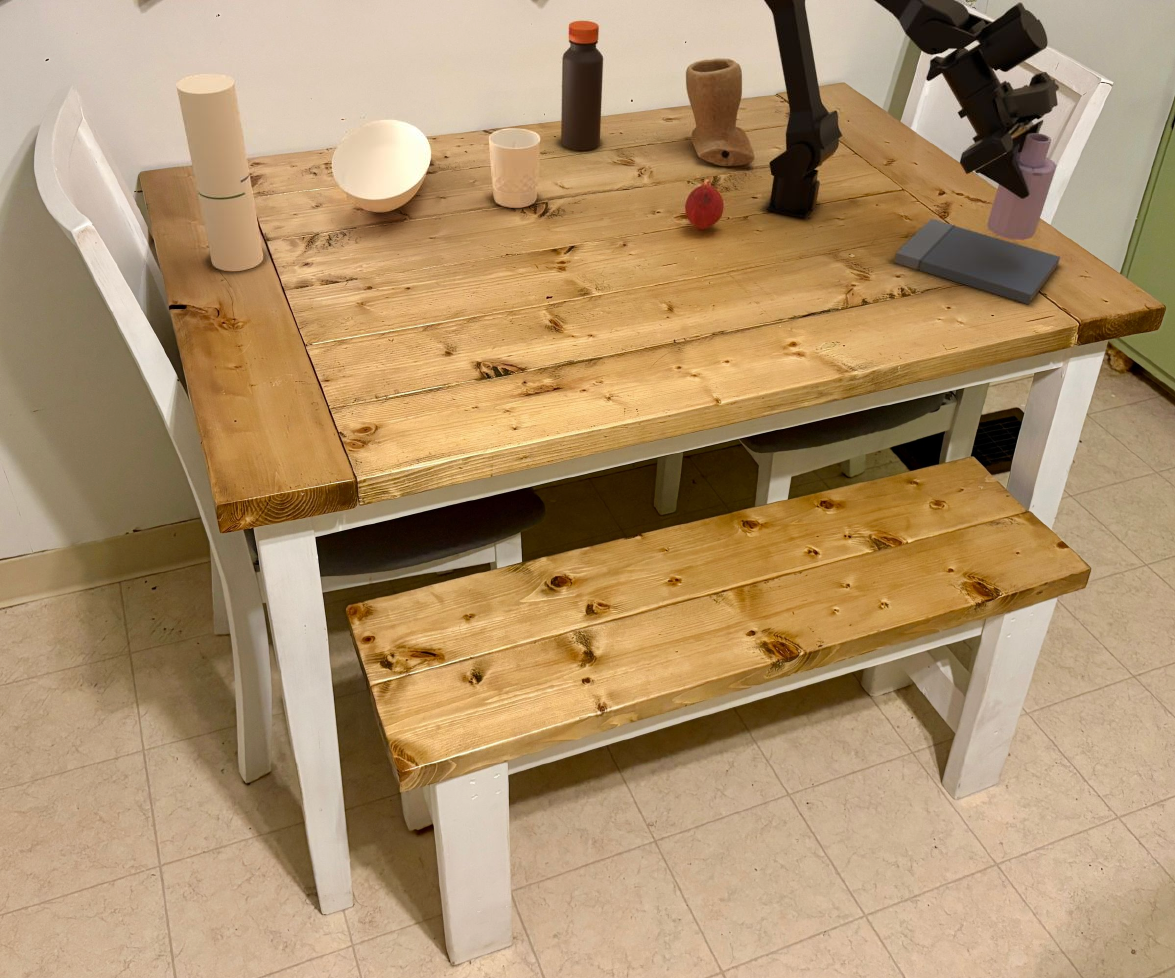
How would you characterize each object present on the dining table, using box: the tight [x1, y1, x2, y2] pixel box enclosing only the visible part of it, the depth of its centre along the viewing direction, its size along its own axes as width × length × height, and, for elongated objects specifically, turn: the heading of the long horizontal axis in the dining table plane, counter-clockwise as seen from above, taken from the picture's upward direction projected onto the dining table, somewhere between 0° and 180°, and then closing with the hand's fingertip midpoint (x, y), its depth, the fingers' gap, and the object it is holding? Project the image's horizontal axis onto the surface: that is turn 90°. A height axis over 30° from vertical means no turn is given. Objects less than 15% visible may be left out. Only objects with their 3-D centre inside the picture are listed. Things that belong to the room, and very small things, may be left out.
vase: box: [986, 132, 1058, 241], centre depth 156 cm, size 7×7×14 cm
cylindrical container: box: [175, 73, 264, 272], centre depth 152 cm, size 7×7×25 cm
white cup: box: [488, 127, 542, 209], centre depth 175 cm, size 8×8×10 cm
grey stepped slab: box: [894, 218, 1061, 305], centre depth 166 cm, size 20×14×2 cm
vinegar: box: [560, 20, 604, 152], centre depth 189 cm, size 7×7×20 cm
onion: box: [684, 178, 725, 231], centre depth 169 cm, size 6×6×8 cm
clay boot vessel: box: [685, 58, 756, 167], centre depth 190 cm, size 15×12×15 cm
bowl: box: [331, 119, 432, 213], centre depth 176 cm, size 30×15×6 cm, turn 4°
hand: (1033, 188), depth 156 cm, fingers closed on vase, 7 cm apart
